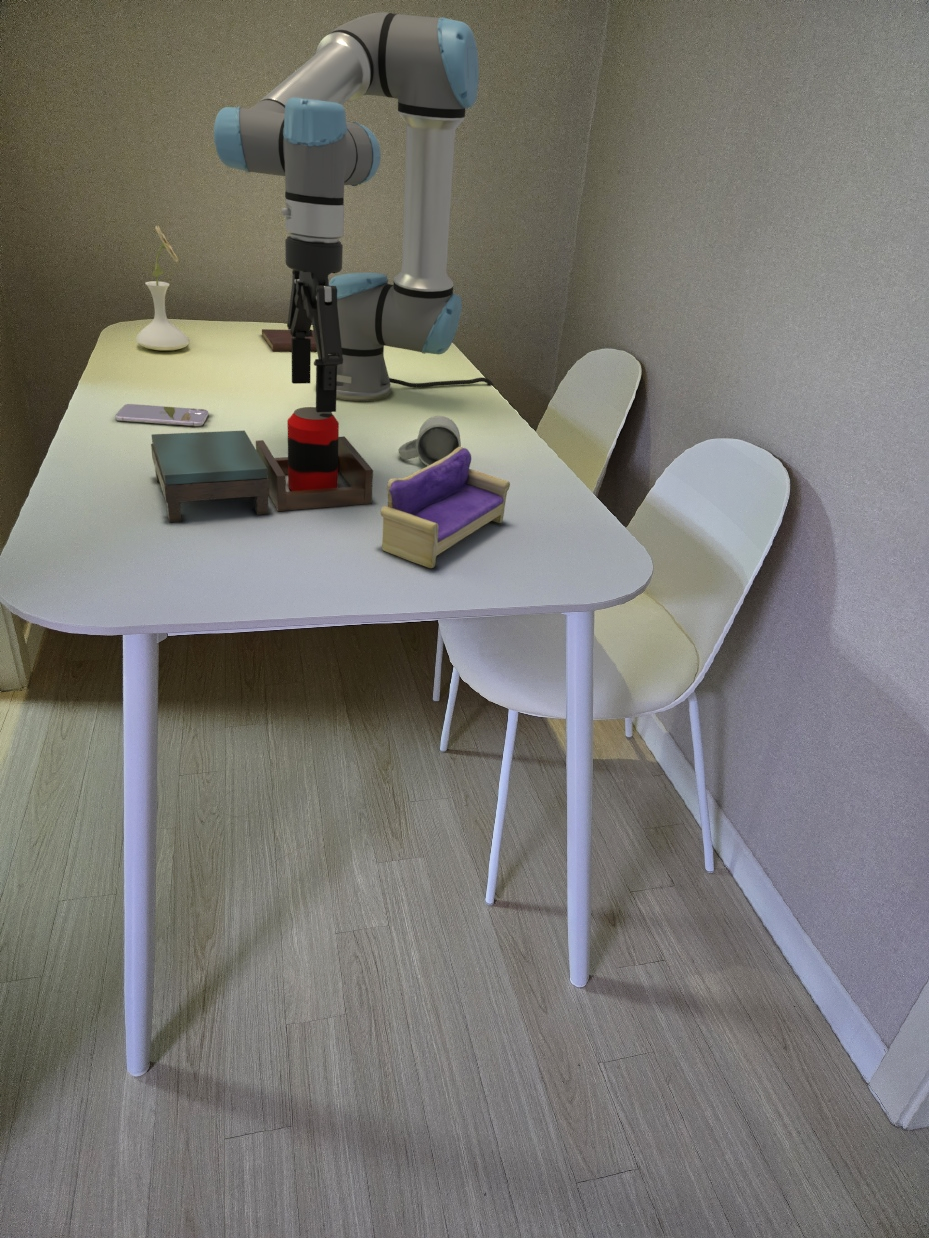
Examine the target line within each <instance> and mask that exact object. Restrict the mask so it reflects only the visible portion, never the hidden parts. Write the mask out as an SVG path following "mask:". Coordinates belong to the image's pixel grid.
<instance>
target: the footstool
mask: <svg viewBox="0 0 929 1238" xmlns="http://www.w3.org/2000/svg"><path fill="white" fill-rule="evenodd" d="M150 449H151V450H150V451H151V457H152V463H153V466H154V471H155V480H156V483H159V485H160V488H161V491H162V493H163V497H164V500H165V503H166V511H167V519H168V521H169V523H177V522H178V523H179V522H183V520H182V509H181V503H185V502H197V501H211V500H212V501H213V500H223V499H236V498H237V499H238V498H250V497H251V498H252V497H254V511H255V513H256V515H258V516H260V515H269V495H270V492H269V478H268V476H267V468H266V466H265V464H264V463H263V461H262V459H261V458H260V456H259V454H258V453H257V451H256V446H254V444H253V443H252V440H251V439H250V438H249V435H248V434H247V432H246V431H245V430H224V431H223V430H222V431H199V432H197V431H196V432H178V433H177V432H176V433H173V432H172V433H155V434H154V433H152V434H151V443H150Z"/></svg>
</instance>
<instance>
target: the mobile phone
mask: <svg viewBox="0 0 929 1238" xmlns="http://www.w3.org/2000/svg"><path fill="white" fill-rule="evenodd" d="M209 413H210V412H209V410H208V409H204V408H194V407H193V408H190V407H180V406H179V407H178V406H163V405H152V404H151V405H150V404H138V403H137V404H136V403H126V404H124V405H123V406H122V407H121V408H120V409H119V411H118V412H117V413H116V414H115V419H116V421H119V422H130V423H131V422H132V423H147V424H161V425H174V426H187V427H189V426H191V427H200V426H201V427H202V426H203V425H204V424H205V422H206V420H207V418H208V416H209Z"/></svg>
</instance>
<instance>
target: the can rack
mask: <svg viewBox="0 0 929 1238" xmlns="http://www.w3.org/2000/svg"><path fill="white" fill-rule="evenodd" d="M255 449H256V451H257V453H258V454H259V456H260V458H261V459H262V461H263V463H264V464H265V466H266V468H267V476H268V478H269V492H270V495H268V497H269V498H270V500H271V501H272V503H273V505H274V507H275V509H276V510H277V512H287V511H299V510H308V509H309V510H310V509H311V510H312V509H320V508H321V509H323V508H334V507H345V506H347V507H348V506H357V505H368V504H372V501H373V483H374V482H373V481H374V480H373V478H374V477H373V476H374V469H373V468H372V467H371V466H370V465H369V463H368V462H367V461H366V460H365V458H364V457H363V456H362V455H361V454H360V453H359V452H358V450H357V449H356V448H355V447H354V445H353V444H352V443H351V442H350V441H349V440H348V439H347V437H346V436H343V435H342V436H339V439H338V472H339V473H340V474H341V476H342V477H343V479H344V480H345V481H346V482H347V483H348V485H349V486H345V487H337V488H329V489H316V490H303V491H292V490H290V491H286V490H287V487H286V486H287V484H286V480H287V479H286V475H288V456H282V457H281V456H280V457H274V455H273V453H272V452H271V450H270V449H269V447H268V446H267V444H266V442H265V441H264V439H262V440H261V439H259V440H258V439H257V440H255Z"/></svg>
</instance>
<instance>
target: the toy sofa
mask: <svg viewBox="0 0 929 1238" xmlns="http://www.w3.org/2000/svg"><path fill="white" fill-rule="evenodd" d="M471 463H472V454H471V452H470V451H469V449H468V448H466V447H462V446H461V447H458V448H456V449H455V450H454V451H453V452H452V453H450V454H449V455H448V456H446V457H444V458H442V459H441V460H439V461H437V462H435V463H433V464H431V465H429V466H427V465H426V466H425V467H423V468H421V469H419V470H417V471H416V472H414V473H411V474H410V475H407V476H405V477H401V478H400V477H393V478H390V479H389V480H388V481H387V486H386V493H387V505H383V506H382V507H381V510H380V517H382V543H381V549H382V551H384V552H386V553H388V554H391V555H393V556H395V557H396V556H397V557H399V558H402V559H403V560H407V561H409V562H412V563H414V564H417V565H420V566H423V567H426V568H428V569H433V568H435V566H436V562H437V556H438V555H440V554H441V553H444V552H445V551H446V550H447V549H449V548H451V547H452V546H454V545H456V544H457V543H458V542H460V541H462V540H463V539H464V538H467V536H469V535H471V534H473V533H474V532H476V531H478V530H479V529H481V528H482V527H484V526H485V525H487V524H488V523H490V522H495V523H498V524H501V523H503V520H504V516H505V515H504V514H505V509H506V508H505V507H506V502H507V501H506V500H507V496H508V491H509V490H510V487H511V482H510V481H508V480H505V479H502V478H500V477H496V476H493V475H490V474H487V473H485V472H481V471H478V470H475V469H473V468H470V467H471Z"/></svg>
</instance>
